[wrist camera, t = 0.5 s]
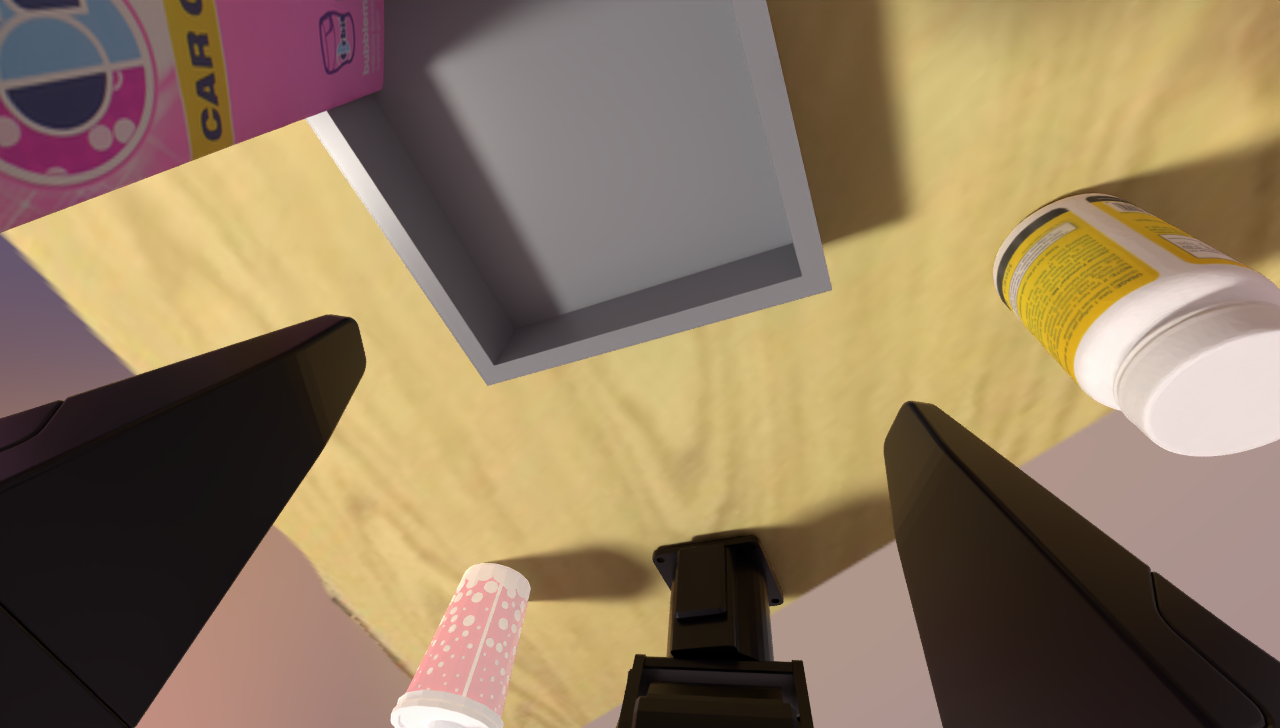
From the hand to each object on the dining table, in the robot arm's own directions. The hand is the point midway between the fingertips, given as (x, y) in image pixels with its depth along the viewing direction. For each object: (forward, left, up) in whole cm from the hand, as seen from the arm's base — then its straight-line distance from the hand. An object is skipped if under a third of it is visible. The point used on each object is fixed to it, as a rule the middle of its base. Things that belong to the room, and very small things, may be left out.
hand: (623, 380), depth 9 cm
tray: (+2, +3, -13) cm, 13 cm away
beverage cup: (-22, +21, -13) cm, 33 cm away
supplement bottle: (-8, -12, -13) cm, 20 cm away
